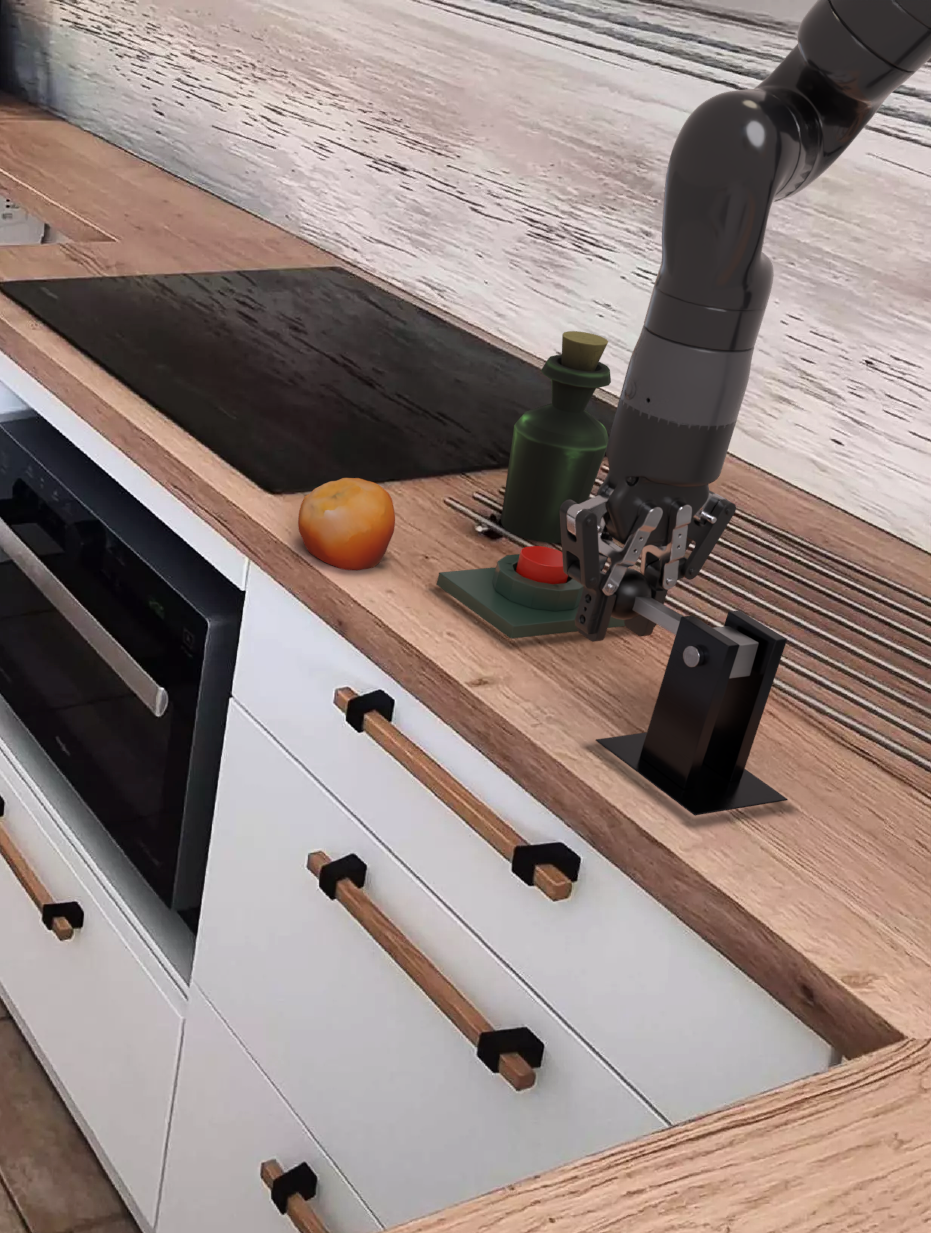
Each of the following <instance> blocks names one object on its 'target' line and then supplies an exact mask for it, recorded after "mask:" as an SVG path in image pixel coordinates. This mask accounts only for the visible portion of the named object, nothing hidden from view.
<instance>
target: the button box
mask: <svg viewBox="0 0 931 1233" xmlns="http://www.w3.org/2000/svg"><path fill="white" fill-rule="evenodd" d="M519 555H520V553H517V554H515V553H514V554H507V555H505V556H503V557H501V559H499V560H497V562H496V565H495V566H493V567H485V568H483V567H482V568H473V569H462V570H461V569H460V570H452V571H439V573H438V576H437V580H436V586H438V587H439V588H441V589H442V590H443V591H444V592H446V593H447V594H449V595H450V596H451V597H453V598H454V599H456V600H457V601H458V602H459V603H461V604H462V605H464V606H465V607H467V608H468V609H469V610H470V611H472V612H474V613H475V614H476V615H477V616H479V617H480V618H482V620H484V621H485V622H487V623H488V624H490V625H491V626H493V627H494V628H495V629H497V630H498V631H499V632H501V633H502V634H504V636H506V637H508V639H511V640H512V639H521V638H529V637H539V636H547V635H558V634H565V633H575V632H578V630H577V626H575V617H576V614H577V610H578V607H579V603H580V599H581V595H582V592H583V585H582V584H580V583H579V582H577V581H576V580H574V579H573V578H571V577H570V576H568V579H567V582H566V583H563V584H548V583H541V582H536V581H533V580H530V579H528V578H525V577H522V576H521V575H519V574H518V573H517V572H516V568H517V564H518V560H519ZM620 627H626V626H625V624H624V620H622V619H616V618H613V617H610V621H609V624H608V628H607V629H610V628H612V629H613V628H620Z"/></svg>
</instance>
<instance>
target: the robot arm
mask: <svg viewBox="0 0 931 1233" xmlns="http://www.w3.org/2000/svg"><path fill="white" fill-rule="evenodd" d="M796 41H797V44H796V45H794V47H793V48H792V50H790V52H789V53H788V54H787V55H786V56H785V57H784V58H783V60H782V61H781V62H780V63H779V64H778V65H777V67H775V68H774V70H773V71H772V72H771V73H770V74H769V75H768V76H766V78H764V79H763V80H762V81H761V82H760V83H759V84H757V86H754V88H747V89H737V90H731V91H725V92H721V93H719V94H716V95H713V96H711V97H710V98H708V99H706V100H704V101H703V102H702V103H700V104H699V105H698V106H697V107H696V108H695V109H694V110H693V111H692V112H691V113H690V114H689V116H688V117H687V119H686V120H685V121H684V123H683V125H682V126H681V128H680V130H679V132H678V134H677V137H676V139H675V140H674V144H673V146H672V149H671V153H670V156H669V160H668V162H667V163H668V164H667V169H666V174H665V182H664V192H663V207H662V222H661V261H660V264H659V269H658V271H657V274H656V277H655V280H654V284H653V288H652V291H651V295H650V299H649V303H648V306H647V310H646V313H645V318H644V321H643V325H642V328H641V331H640V333H639V336H638V339H637V341H636V342H635V346H634V348H633V351H632V353H631V355H630V359H629V362H628V366H627V369H626V372H625V377H624V381H623V384H622V388H621V392H620V395H619V399H618V403H617V407H616V410H615V412H614V413H615V414H614V418H613V420H612V424H611V428H610V433H609V435H608V438H609V439H608V443H607V447H606V452H605V455H606V459H607V464H608V471H607V475H606V477H605V478H604V480H603V482H602V483H601V484H600V486H599V488H598V489H597V492H596V495H595V496H594V497H591V498H589V499H588V500H587V501H585V502H582V503H580V504H577V503H576V502H574V501H572V500H566V501H564V502H563V503H562V505H561V506H560V527H561V542H562V543H561V552H562V558H563V571H564V573H565V574H567V575H568V576H570V577H571V578H573V579H574V580H576V581H577V582H579V583H580V584H582V585H583V592H582V595H581V599H580V603H579V607H578V610H577V614H576V617H575V626H577V630H578V631H577V632H578V633H579V635H581V636H583V637H584V638H586V639H587V640H588V641H590V642H592V643H593V642H594V643H595V642H602V641H604V640H605V638H606V635H607V632H608V629H609V628H608V624H609V621H610V617H611V614H612V610H613V607H614V603H615V600H616V596H617V595H615V594H614V593H615V592H616V590H617V589H618V587H619V585H620V583H621V580H622V578H623V576H624V574H625V572H626V570H627V568H631V567H634V566H635V565H636V564H637V562H638V560H639V558H640V556H641V558H640V571H639V572H640V573H642V574H643V575H644V576H645V577H646V578H647V580H648V581H649V583H650V586H651V591H652V596H651V598H653V599H654V600H656V601H658V602H660V603H661V604H663V605H665V602H666V598H667V595H668V592H669V590H671V589H673V588H674V587H675V586H676V584H677V583H678V581H679V580H681V579H684V578H685V579H686V580H690V581H691V580H693V579H695V578H696V577H697V576H698V575H699V573H700V572H701V569H702V568H703V566H704V565H705V563H706V561H707V560H708V558H709V556H710V555H711V553H712V551H713V550H714V548H715V546H716V545H717V543H718V542H719V540H720V538H721V536H722V535H723V533H724V531H725V530H726V529H727V527H728V525H729V523H730V522H731V520H732V518H733V517H734V515H735V513H736V511H737V506H736V504H735V503H733V502H732V501H731V500H728V499H727V498H726V497H723V496H722V495H720V494H718V493H715V492H714V491H711V490H710V486H709V485H710V484H712V483H714V482H715V481H717V480H718V479H719V477H720V476H721V473H722V470H723V468H724V464H725V461H726V457H727V454H728V450H729V448H730V444H731V440H732V437H733V434H734V431H735V427H736V424H737V421H738V418H739V413H740V410H741V407H742V404H743V402H744V398H745V394H746V391H747V387H748V385H749V384H748V383H749V379H750V374H751V366H752V360H753V355H754V350H755V345H756V344H757V340H758V337H759V332H760V329H761V326H762V323H763V320H764V316H765V313H766V309H767V307H768V303H769V300H770V296H771V294H772V293H771V292H772V288H773V283H774V264H773V262H772V261H771V259H770V257H769V256H768V255H767V254H765V252H763V249H764V248H763V247H764V243H765V236H766V230H767V226H768V225H767V224H768V219H769V215H770V211H771V207H772V204H773V203H777V202H781V201H784V200H787V199H789V198H790V197H793V196H795V195H797V194H798V193H800V192H802V191H803V190H805V189H806V188H807V187H808V186H809V185H811V184H812V183H813V182H815V181H816V180H817V179H818V178H820V176H822V174H824V173H825V172H826V171H827V170H828V169H829V168H830V167H831V166H833V164H835V162H836V161H837V160H838V159H839V158H840V157H841V156H842V154H844V152H845V151H846V149H848V147H849V146H850V145H851V144H852V143H853V142H854V140H855V139H856V138H857V137H858V135H859V134H860V133H861V132H862V131H863V130H864V128H865V127H866V126H867V125H868V123H869V122H870V121H871V120H872V118H873V117H874V116H875V115H876V113H877V112H878V111H879V109H880V108H881V106H882V105H883V103H884V102H885V101H886V100H887V99H888V97H889V96H890V95H891V94H892V93H893V92H895V90H897V89H898V88H900V86H902V85H903V84H904V83H905V82H906V81H908V80H909V79H910V78H912V76H913V75H915V74H916V73H917V71H919V70H920V69H921V68H922V67H923V66H924V65H925V64H927V62H928V61H930V59H931V0H816V1H815V2H814V3H813V5H812V7H810V9H809V10H808V11H807V13H805V15H804V17H803V18H802V19H801V21H800V23H799V26H798V29H797V34H796ZM614 540H616V541H617V542H619V543H620V544H622V545H624V546H623V547H620V546H619V545H617V544H616V543H615V542H614ZM692 542H694V543H695V544H694V547H693V549H692V551H691V552H690V554H689V555H688V557H686V552H687V550H688V548H689V547H690V545H691V543H692ZM608 559H609V560H610V563H609V565H608V568H607V569H606V572H604V571H603V570H604V568H605V566H606V564H607V561H608ZM624 624H625V626H624V627H625V628H626V629H628V630H629V631H631V632H632V633H634V634H635V635H636V636H638V637H649V636H652V634H653V632H654V628H656V627H657V625H658V624H656V623H654V622H652V621H651V620H649V619H647V618H646V617H644V616H642V615H639V616H637V617H635V618H632V619H626V620H624Z"/></svg>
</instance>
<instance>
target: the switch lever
mask: <svg viewBox="0 0 931 1233" xmlns="http://www.w3.org/2000/svg"><path fill="white" fill-rule="evenodd" d="M614 594H615V595H617V596H616V600H615V603H614V607H613V610H612V614H611V617H613V618H616V619H622V620H626V619H632V618H635V617H637V616H639V615H642V616H644V617H646V618H647V619H649V620H651V621H652V622H654V623H656V624H657V625H658V626H659V627H661V628H662V629H664V630H666V631H668V632H669V633H671V634H673V635H675V636H676V633H677V629H678V626H679V623H680V619H681V617H682V616H684V614H683V615H682V614H681V613H679V612H678V611H676V610H674V609H672V608H670V607H669V606H667V605H665V604H664V605H663V604H661V603H660V602H658V601H656V600H654V599H653V598H651V596H652V591H651V586H650V583H649V581H648V580H647V578H646V577H645V576H644V575H643V574H642V573H641V572H640V571H639V570H637V569H634V568H631V567H628V568H627V570H626V572H625V574H624V576H623V578H622V580H621V583H620V585H619V587H618V589H617V590H616V592H615V593H614ZM713 628H714V629H715V630H717V631H719V632H720V633H722V634H723V635H725V636H727V637H728V638H730V639H731V640H733V641H734V642H736V643H738V644H739V645H740V646H739V649H738V652H737V655H736V659H735V662H734V665H733V668H732V671H731V674H730V678H736V677H744V676H750V673H751V669H752V666H753V662H754V658H755V655H756V651H757V648H758V644H759V643H758V642H757V641H755V640H753V639H751V638H749V637H748V636H746V635H744V634H742V633H740V632H739V631H737V630H735V629H733V628H731V627H730V626H724V625H723V626H716V627H715V626H714V627H713Z"/></svg>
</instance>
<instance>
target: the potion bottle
mask: <svg viewBox="0 0 931 1233" xmlns="http://www.w3.org/2000/svg"><path fill="white" fill-rule="evenodd" d="M561 336H562V337H561V354H555V355H551V356H549V357H548V358H547V360H546V361H545V363H544V364H543V366H542V368H541V369H540V372H541V373H542V374H543V375H544V376H545V377H547V378H549V379H550V380H551V381H550V382H551V386H550V387H551V403H548V404H545V405H542V406H539V407H536V408H532V409H529V410H526V411H525V412H523V414H521V416H520V417H519V419H517V421H516V422H515V423H514V425H513V430H512V439H511V445H510V453H509V461H508V467H507V473H506V474H507V475H506V479H505V480H506V481H505V487H504V488H505V489H504V494H503V502H502V509H501V515H500V524H501V525H502V528H504V529H505V530H507V531H508V532H509V533H511V534H513V535H516V536H518V537H520V538H523V539H526V540H531V541H535V542H538V543H539V542H540V543H548V544H549V543H550V544H562V542H561V527H560V506H561V505H562V503H563V502H564V501H566V500H572V501H574V502H576V503H577V504H580V503H582V502H585V501H587V500H589V499H590V496H591V494H592V490H593V488H594V485H595V482H596V480H597V477H598V474H599V472H600V469H601V466H602V463H603V461H604V458H605V455H606V447H607V443H608V439H609V435H608V431H607V429H606V426H605V425H604V424H603V423H601V421H599V420H598V419H597V418H596V417H594V415H593V414H591V413H590V412H589V411H587V409H586V408H587V406H588V405H589V403H590V401H591V399H592V397H593V395H594V393H595V391H596V390H597V389H599V388H604V387H608V386H610V384H611V383H612V379H611V369H610V368H609V366H608V365H606V364H604V363H603V362H601V361H600V360H601V358H602V356H603V354H604V352H605V350H606V348H607V346H608V343H609V340H608V339H607V338H605V337H603V336H601V335H598V334H594V333H590V332H587V331H580V330H579V331H578V330H568V331H564V332H563V333H562V335H561Z"/></svg>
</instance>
